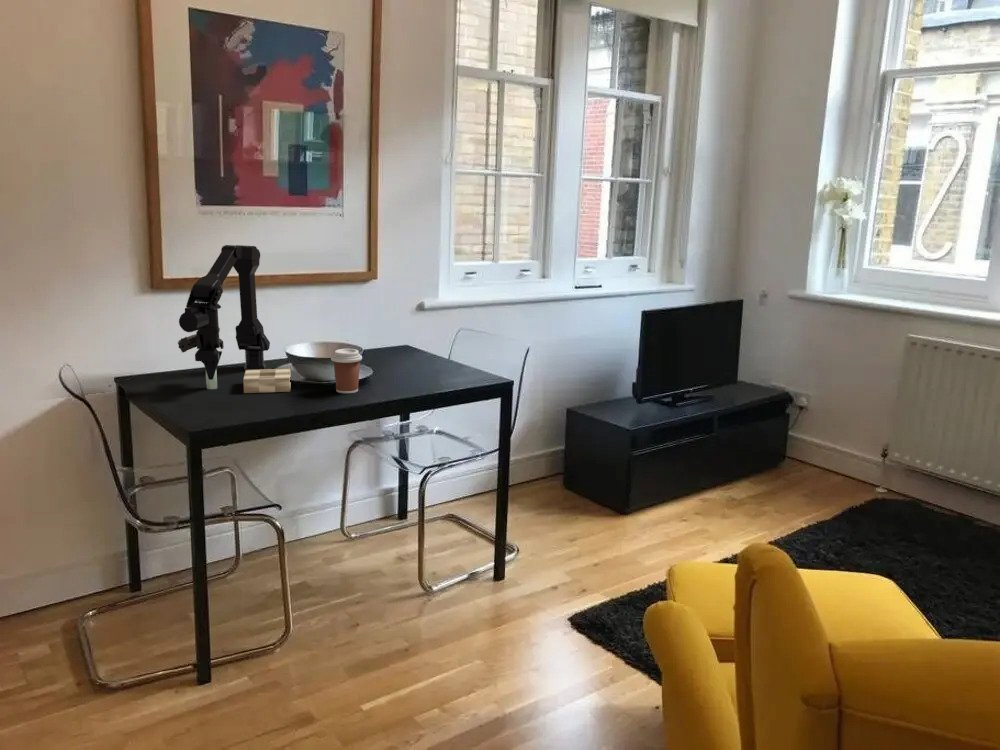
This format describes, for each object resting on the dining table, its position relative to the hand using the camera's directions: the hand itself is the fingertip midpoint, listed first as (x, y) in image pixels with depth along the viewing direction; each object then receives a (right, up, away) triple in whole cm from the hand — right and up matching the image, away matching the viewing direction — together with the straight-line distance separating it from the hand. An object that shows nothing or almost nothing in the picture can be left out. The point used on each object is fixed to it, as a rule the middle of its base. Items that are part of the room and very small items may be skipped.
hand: (211, 378), depth 247 cm
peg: (0, -3, +1) cm, 3 cm away
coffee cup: (+40, -4, +2) cm, 40 cm away
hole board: (+16, -3, +3) cm, 16 cm away
